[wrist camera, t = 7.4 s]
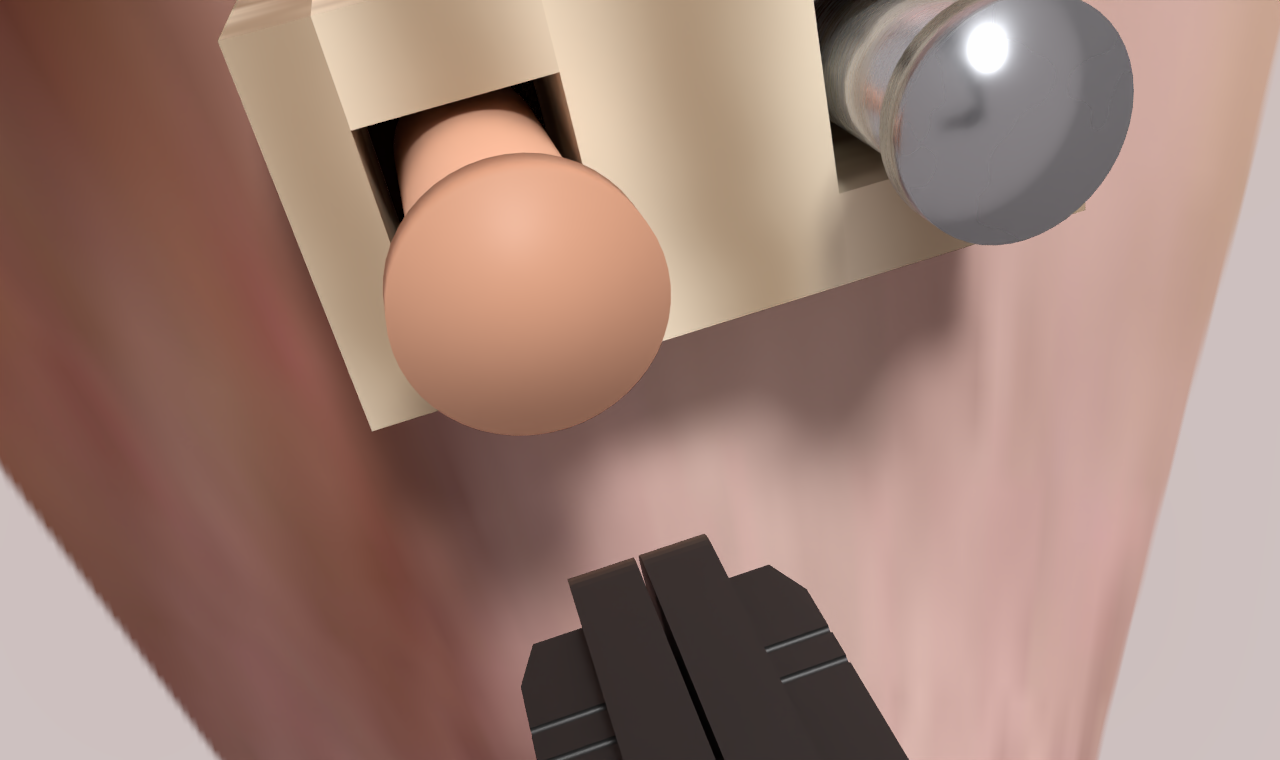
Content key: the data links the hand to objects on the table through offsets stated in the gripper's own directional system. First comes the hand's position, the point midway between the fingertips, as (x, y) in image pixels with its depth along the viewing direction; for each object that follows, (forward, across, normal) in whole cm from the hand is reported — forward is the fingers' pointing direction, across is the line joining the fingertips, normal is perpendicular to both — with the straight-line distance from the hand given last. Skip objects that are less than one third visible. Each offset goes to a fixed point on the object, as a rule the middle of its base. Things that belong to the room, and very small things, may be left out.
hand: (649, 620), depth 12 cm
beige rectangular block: (+20, -5, 0) cm, 21 cm away
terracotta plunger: (+18, 0, 0) cm, 18 cm away
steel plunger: (+20, -10, 0) cm, 22 cm away
